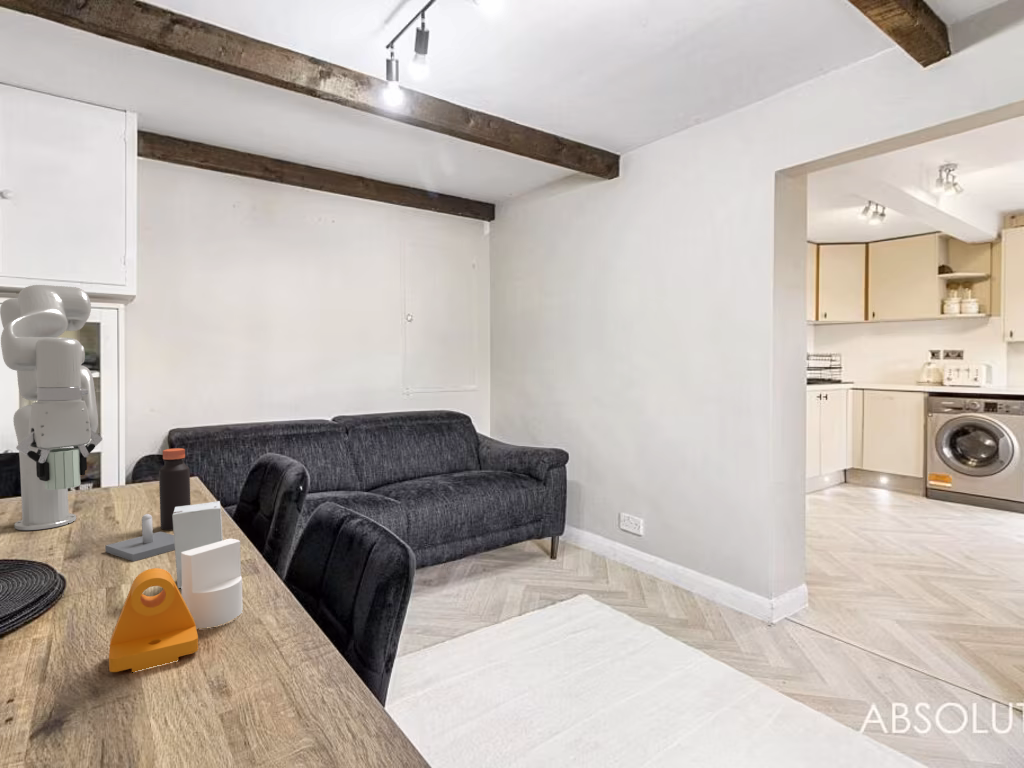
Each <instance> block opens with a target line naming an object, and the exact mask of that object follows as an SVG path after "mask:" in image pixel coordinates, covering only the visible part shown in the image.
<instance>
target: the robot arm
mask: <svg viewBox="0 0 1024 768" xmlns="http://www.w3.org/2000/svg"><path fill="white" fill-rule="evenodd" d="M91 311H92V303H91V300H90V296H89V295H88V294H87V292H86V291H85V290H84V289H82V288H79V287H76V286H75V287H74V286H64V285H63V286H62V285H61V286H60V285H48V284H32V285H28V286H25V287H24V288H22V289H21V290H20V291H19V292H18V296H17V297H13V298H8V299H6V300H4V301H3V302H1V305H0V321H1V324H2V327H3V330H2V332H1V335H0V347H1V354H2V358H3V362H4V364H5V366H6V367H7V368H8V369H11V371H16V375H17V386H18V390H19V391H18V392H19V394H20V396H21V397H22V398H24V399H25V400H28V401H35V402H32V404H26V405H24V406H22V407H20V408H18V409H17V410H16V411H15V412H14V414H13V420H12V421H13V427H14V431H15V434H16V435H15V436H16V440H17V445H16V447H15V448H16V450H17V451H18V456H19V472H20V474H19V475H20V494H21V495H20V496H21V498H20V499H21V517H22V518H21V519H20V520H18V521H16V522H15V523H14V529H16V530H19V531H39V530H46V529H51V528H57V527H58V528H59V527H61V526H65V525H69V524H71V523H73V521H74V522H75V521H76V520H77V515H76V514H75V513H70V512H69V511H70V510H69V488H67V489H57V490H49V489H45V481H48V480H49V463H48V462H46V458H47V456H48V454H49V451H50V449H56V448H78V449H79V454H80V477H83V476H86V471H87V470H88V464H87V463H88V462H87V458H88V457H89V455H90V454H91V452H92V451H94V449H95V448H96V447H97V446H98V445H99V444H100V443H101V442H102V441H103V437H102V436H100V434H98V433H97V431H98V427H99V416H98V407H97V397H96V390H95V381H94V378H93V377H94V376H93V373H92V372H91V370H90V369H89V368H88V367H87V366H85V365H82V364H84V363H85V359H86V358H85V357H86V352H85V347H84V345H82V343H81V342H80V341H79V340H78V339H76V338H73V337H60V336H62V335H64V333H65V332H67V331H68V332H73V331H75V332H76V331H80V330H81V329H82V328H84V326H85V324H86V322H87V321H88V319H89V318H90V315H91ZM36 401H37V402H36ZM68 523H69V524H68Z"/></svg>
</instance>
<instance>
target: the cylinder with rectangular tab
mask: <svg viewBox="0 0 1024 768" xmlns="http://www.w3.org/2000/svg"><path fill="white" fill-rule="evenodd" d="M241 563H242V562H241V540H239V539H235V538H227V539H223V541H219V542H216V543H212V544H209V545H205V546H202V547H198V548H194V549H191V550H187V551H184V552H181V570H182V587H181V589H180V590H181V595H182V597H183V599H184V601H185V603H186V605H187V607H188V609H189V611H190V613H191V615H192V617H193V619H194V621H195V625H196V628H207V627H214V626H218V625H220V624H224V623H226V622H228V621H230V620H232V619H234V618H236V617H237V616H239V615H240V614H241V613H242V614H243V612H242V610H243V607H244V606H243V577H242V564H241Z"/></svg>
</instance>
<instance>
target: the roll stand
mask: <svg viewBox="0 0 1024 768" xmlns="http://www.w3.org/2000/svg"><path fill="white" fill-rule="evenodd" d="M141 529H142V530H141V532H142V536H137V537H134V538H129V539H125V540H121V541H118V542H113V543H109V544H106V545H105V550H104V551H105V553H107V554H111V555H113V556H117V557H119V558H122V559H125V560H128V561H131V562H137V561H140V560H143V559H147V558H151V557H154V556H157V555H161V554H165V553H168V552H172V551H175V544H174V534H171V533H167V532H164V531H157V532H153V531H154V530H153V516H152V515H151V514H149V513H145V514H144V515H142V516H141Z"/></svg>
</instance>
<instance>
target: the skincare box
mask: <svg viewBox="0 0 1024 768" xmlns="http://www.w3.org/2000/svg"><path fill="white" fill-rule="evenodd" d="M172 518H173V530H172V531H173V535H174V544H175V550H174V554H175V558H174V559H175V568H176V582H177V584H176V586H177V588H178V589H179V588H181V587H182V570H181V552H184V551H187V550H191V549H194V548H198V547H202V546H205V545H209V544H212V543H216V542H219V541H223V540H224V539H223V519H222V518H223V517H222V508H221V501H220V500H218V501H211V502H205V503H204V502H203V503H197V504H191V505H187V506H179V507H175V509H174V512H173V515H172ZM179 590H180V589H179Z"/></svg>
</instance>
